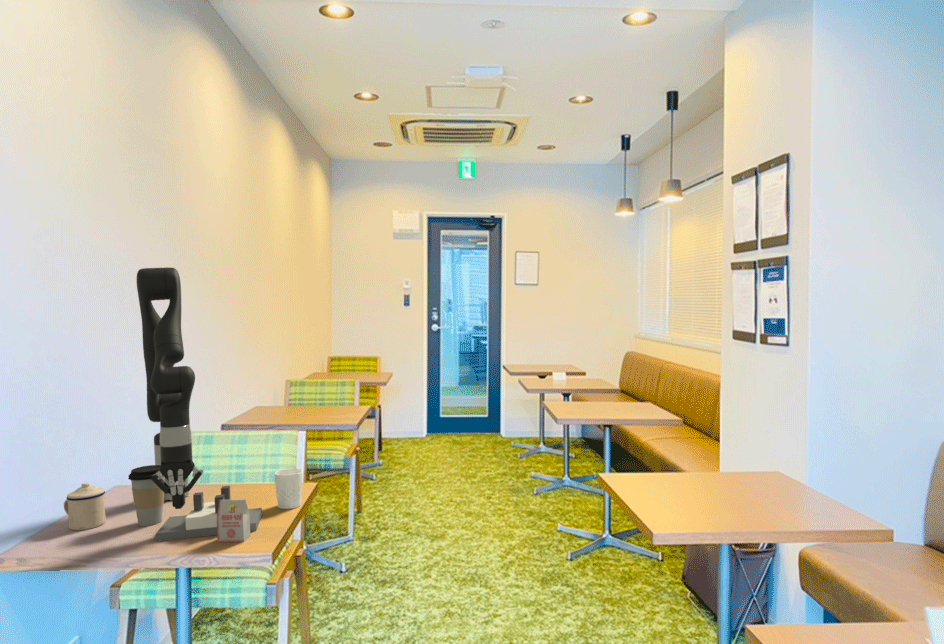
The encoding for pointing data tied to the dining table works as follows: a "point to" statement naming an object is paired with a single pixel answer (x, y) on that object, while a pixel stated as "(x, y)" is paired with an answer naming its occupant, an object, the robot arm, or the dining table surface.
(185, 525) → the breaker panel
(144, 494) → the coffee cup
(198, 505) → the handle
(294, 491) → the white cup
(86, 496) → the teacup with lid
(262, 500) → the dining table surface
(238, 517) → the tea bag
